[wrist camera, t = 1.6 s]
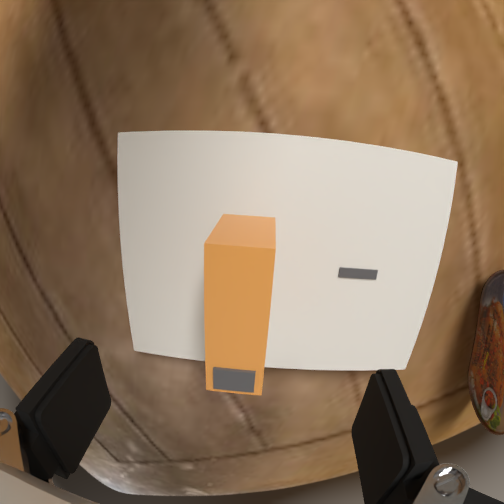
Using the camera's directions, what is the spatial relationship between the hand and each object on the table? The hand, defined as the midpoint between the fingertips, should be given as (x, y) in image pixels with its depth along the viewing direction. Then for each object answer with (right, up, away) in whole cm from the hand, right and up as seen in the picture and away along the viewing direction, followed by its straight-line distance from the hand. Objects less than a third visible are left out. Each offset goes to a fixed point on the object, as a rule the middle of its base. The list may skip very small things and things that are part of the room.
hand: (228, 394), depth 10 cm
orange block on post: (0, +3, +7) cm, 8 cm away
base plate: (+3, +4, +11) cm, 12 cm away
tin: (+21, -2, +12) cm, 25 cm away
